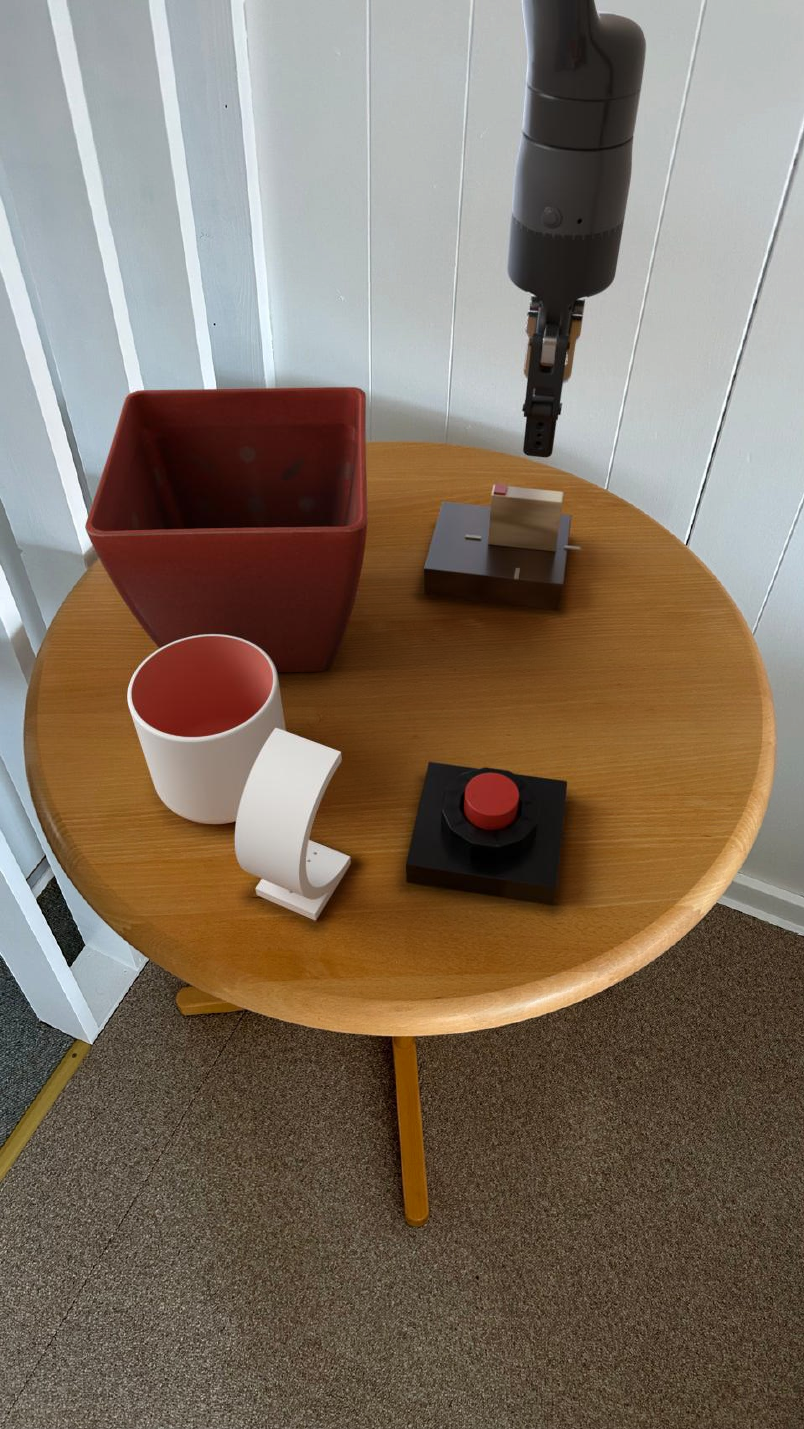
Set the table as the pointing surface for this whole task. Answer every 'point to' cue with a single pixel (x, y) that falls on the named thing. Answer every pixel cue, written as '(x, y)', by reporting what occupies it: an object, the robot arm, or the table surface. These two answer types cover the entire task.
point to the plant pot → (238, 516)
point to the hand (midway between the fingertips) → (542, 424)
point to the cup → (204, 721)
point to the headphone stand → (288, 824)
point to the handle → (524, 517)
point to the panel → (492, 562)
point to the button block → (488, 838)
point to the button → (491, 801)
